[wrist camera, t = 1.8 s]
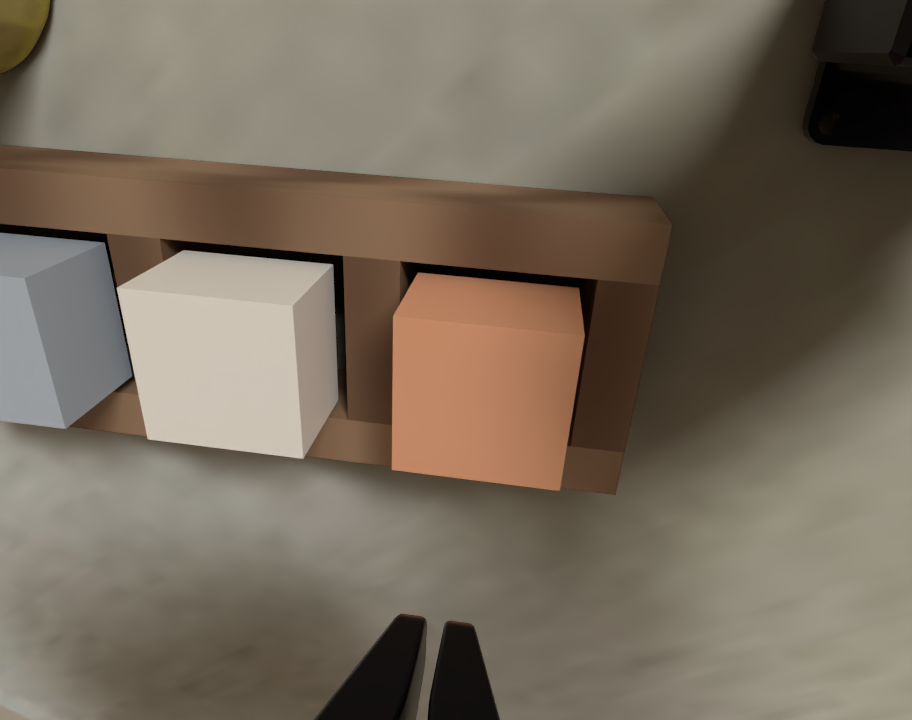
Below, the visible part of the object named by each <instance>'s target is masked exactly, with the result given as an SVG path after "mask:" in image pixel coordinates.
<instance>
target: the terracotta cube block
mask: <svg viewBox="0 0 912 720" xmlns="http://www.w3.org/2000/svg"><path fill="white" fill-rule="evenodd" d="M584 337H585V333H584V325H583V317H582V309H581V301H580V293H579V288H576V287H566V286H555V285H545V284H534V283H524V282H513V281H503V280H492V279H482V278H471V277H461V276H450V275H440V274H429V273H419V272H418V274H417V275H416V277H415V279H414V280H413V282H412V284H411V286H410V287H409V289H408V291H407V293H406V294H405V296H404V298H403V300H402V301H401V303H400V305H399V307H398V308H397V310H396V312H395V313H394V315H393V381H392V470H396V471H404V472H412V473H420V474H428V475H436V476H444V477H452V478H460V479H468V480H476V481H484V482H492V483H500V484H508V485H516V486H524V487H532V488H540V489H548V490H556V491H560V486H561V480H562V474H563V468H564V461H565V455H566V449H567V443H568V437H569V430H570V424H571V418H572V412H573V406H574V399H575V393H576V387H577V381H578V375H579V368H580V362H581V356H582V350H583V344H584Z"/></svg>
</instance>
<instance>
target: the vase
mask: <svg viewBox="0 0 912 720" xmlns="http://www.w3.org/2000/svg"><path fill="white" fill-rule="evenodd" d="M49 8H50V0H0V73H2V72H5V71H8V70H10V69H12V68H14V67H15V66H16V65H18V64H19V63H20V62H22V61H23V60H24V59H25V58H26V57H27V56H28V55H29V53H30V52H31V50H32V49H33V48H34V46H35V44H36V42H37V40H38V38H39V37H40V34H41V32H42V30H43V28H44V25H45V23H46V21H47V18H48V13H49Z"/></svg>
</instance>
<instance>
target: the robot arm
mask: <svg viewBox="0 0 912 720" xmlns="http://www.w3.org/2000/svg"><path fill="white" fill-rule="evenodd" d="M812 51H813V53H814V55H815V56H816V58H817V60H818V61H819V62H820V63H819V67H818V70H817V74H816V77H815V81H814V84H813V88H812V91H811V95H810V98H809V102H808V105H807V109H806V112H805V116H804V119H803V127H802V129H803V132H804V135H805V136H806V137H807V138H808V139H809V140H810V141H813V142H815V143H819V144H822V145H832V146H846V147H860V148H874V149H888V150H902V151H912V0H826V1H825V5H824V8H823V12H822V15H821V19H820V23H819V26H818V30H817V33H816V37H815V41H814V44H813V48H812ZM828 113H832V114H833V115H834V117H835V122H834V124H833V126H832V128H831V129H829V130H828V131H827V132H822V133H821V131H820V130H819V122H820V120H821V119H822V117H823V116H825V115H826V114H828ZM426 634H427V621H426V619H425V618H424V617H422V616H415V615H408V614H400V615H398V616H397V617H396V618H395V619H394V620H393V621H392V622H391V624H390V625H389V626H388V627H387V629H386V630H385V631H384V632H383V634H382V635H381V636H380V637H379V639H378V640H377V641H376V642H375V644H374V645H373V646H372V647H371V649H370V650H369V651H368V652H367V654H366V655H365V656H364V657H363V659H362V660H361V661H360V663H359V664H358V665H357V666H356V668H355V669H354V670H353V671H352V673H351V674H350V675H349V676H348V678H347V679H346V680H345V681H344V683H343V684H342V685H341V686H340V688H339V689H338V690H337V691H336V693H335V694H334V695H333V696H332V698H331V699H330V700H329V701H328V703H327V704H326V705H325V707H324V708H323V709H322V710H321V712H320V713H319V714H318V715H317V717H316V718H315V719H314V720H416V716H417V709H418V703H419V697H420V691H421V685H422V679H423V673H424V666H425V656H426ZM428 720H500V718H499V714H498V711H497V707H496V703H495V700H494V696H493V692H492V689H491V685H490V682H489V678H488V674H487V671H486V667H485V663H484V660H483V656H482V652H481V649H480V645H479V641H478V638H477V634H476V631H475V628H474V626H473V625H472V624H469V623H463V622H456V621H448V622H446V623H445V625H444V629H443V634H442V639H441V644H440V649H439V653H438V658H437V663H436V668H435V673H434V678H433V683H432V688H431V694H430V700H429V709H428Z"/></svg>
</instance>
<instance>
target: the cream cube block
mask: <svg viewBox="0 0 912 720" xmlns="http://www.w3.org/2000/svg"><path fill="white" fill-rule="evenodd" d="M117 292H118V297H119V302H120V306H121V311H122V316H123V321H124V326H125V331H126V336H127V341H128V345H129V350H130V355H131V360H132V365H133V370H134V375H135V380H136V385H137V389H138V394H139V399H140V404H141V409H142V414H143V419H144V424H145V429H146V433H147V438H148V439H149V440H157V441H165V442H173V443H181V444H189V445H197V446H205V447H213V448H221V449H229V450H237V451H245V452H253V453H261V454H269V455H277V456H285V457H293V458H301V459H303V458H304V457H305V455H306V453H307V452H308V450H309V448H310V447H311V445H312V443H313V442H314V440H315V438H316V437H317V435H318V433H319V432H320V430H321V428H322V426H323V425H324V423H325V421H326V420H327V418H328V416H329V415H330V413H331V411H332V410H333V408H334V406H335V405H336V403H337V401H338V378H337V351H336V324H335V298H334V271H333V264H324V263H313V262H303V261H292V260H282V259H271V258H261V257H250V256H240V255H229V254H219V253H208V252H198V251H187V250H183V251H181V252H180V253H178V254H176V255H174V256H173V257H171V258H169V259H167V260H165V261H164V262H162V263H160V264H158V265H156V266H155V267H153V268H151V269H149V270H148V271H146V272H144V273H142V274H140V275H139V276H137V277H135V278H133V279H132V280H130V281H128V282H126V283H124V284H123V285H121V286H119V287H117Z"/></svg>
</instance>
